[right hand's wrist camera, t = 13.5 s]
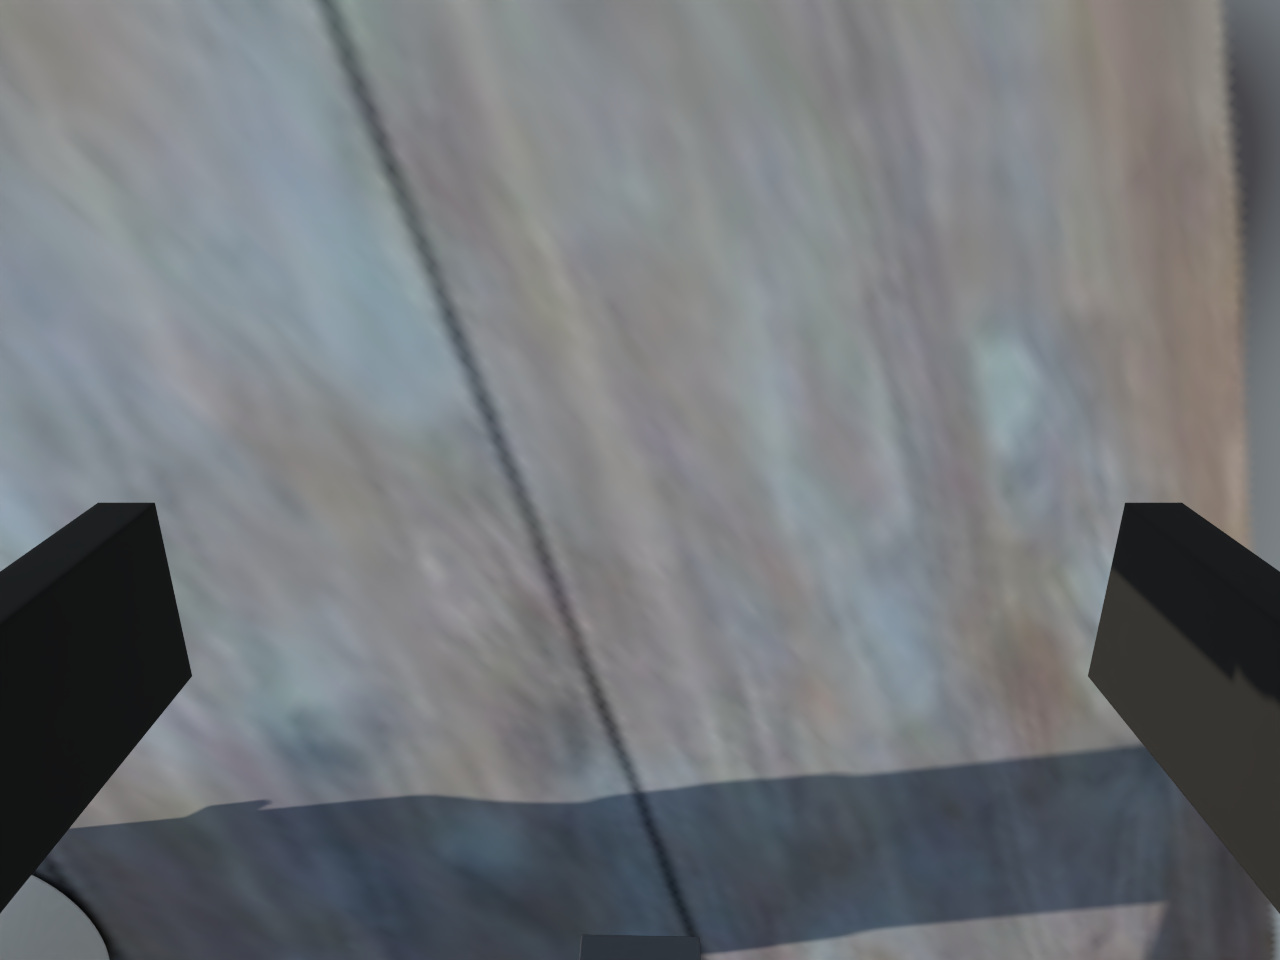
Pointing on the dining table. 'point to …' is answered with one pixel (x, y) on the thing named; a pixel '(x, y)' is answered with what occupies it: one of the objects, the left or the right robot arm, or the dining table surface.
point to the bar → (639, 947)
